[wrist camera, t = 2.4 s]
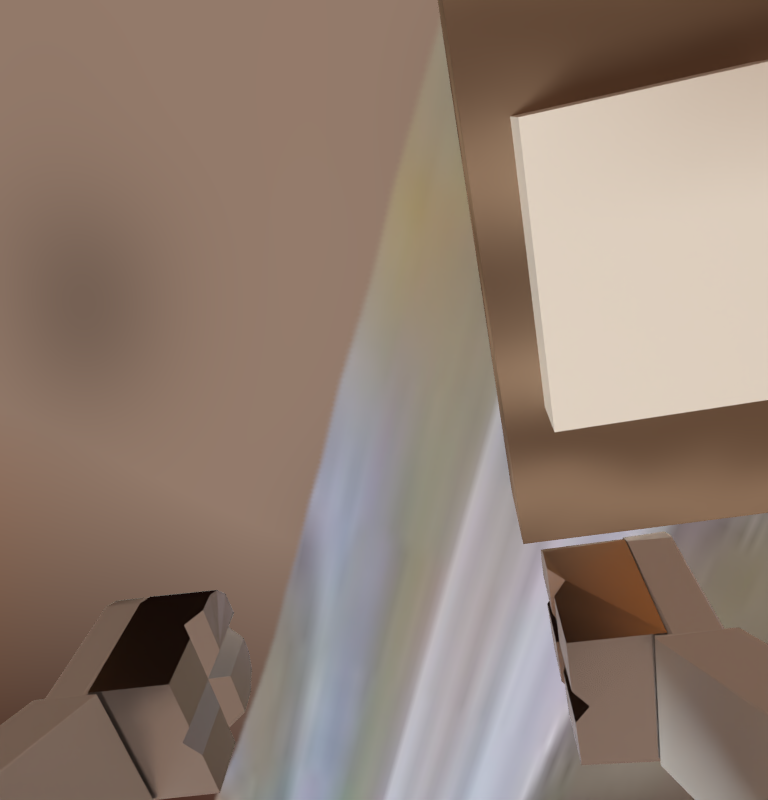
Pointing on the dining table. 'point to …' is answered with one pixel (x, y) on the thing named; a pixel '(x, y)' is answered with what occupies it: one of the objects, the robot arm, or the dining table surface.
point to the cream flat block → (649, 247)
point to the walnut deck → (508, 268)
